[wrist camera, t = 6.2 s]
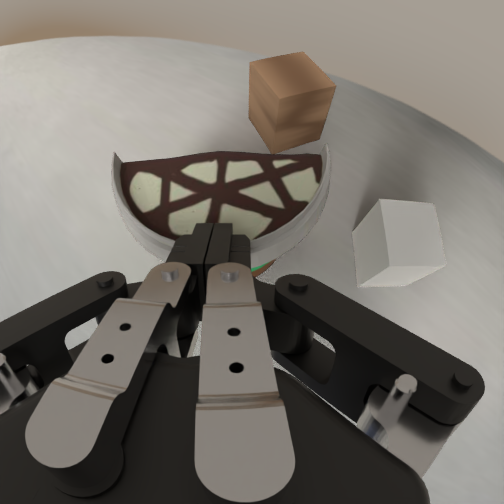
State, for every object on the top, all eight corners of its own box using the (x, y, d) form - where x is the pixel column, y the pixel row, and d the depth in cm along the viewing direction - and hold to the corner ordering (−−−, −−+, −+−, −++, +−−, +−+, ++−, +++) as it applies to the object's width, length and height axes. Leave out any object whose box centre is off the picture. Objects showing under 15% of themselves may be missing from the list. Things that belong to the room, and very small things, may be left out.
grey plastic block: (399, 234, 24) (434, 203, 19) (406, 285, 23) (446, 265, 17) (351, 233, 24) (379, 198, 19) (356, 287, 23) (389, 266, 17)
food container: (147, 301, 22) (84, 264, 13) (151, 225, 24) (104, 153, 15) (312, 297, 23) (358, 257, 13) (304, 220, 24) (337, 143, 15)
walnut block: (293, 104, 29) (303, 51, 22) (319, 139, 27) (336, 85, 21) (248, 117, 28) (249, 62, 21) (272, 154, 26) (279, 98, 20)
